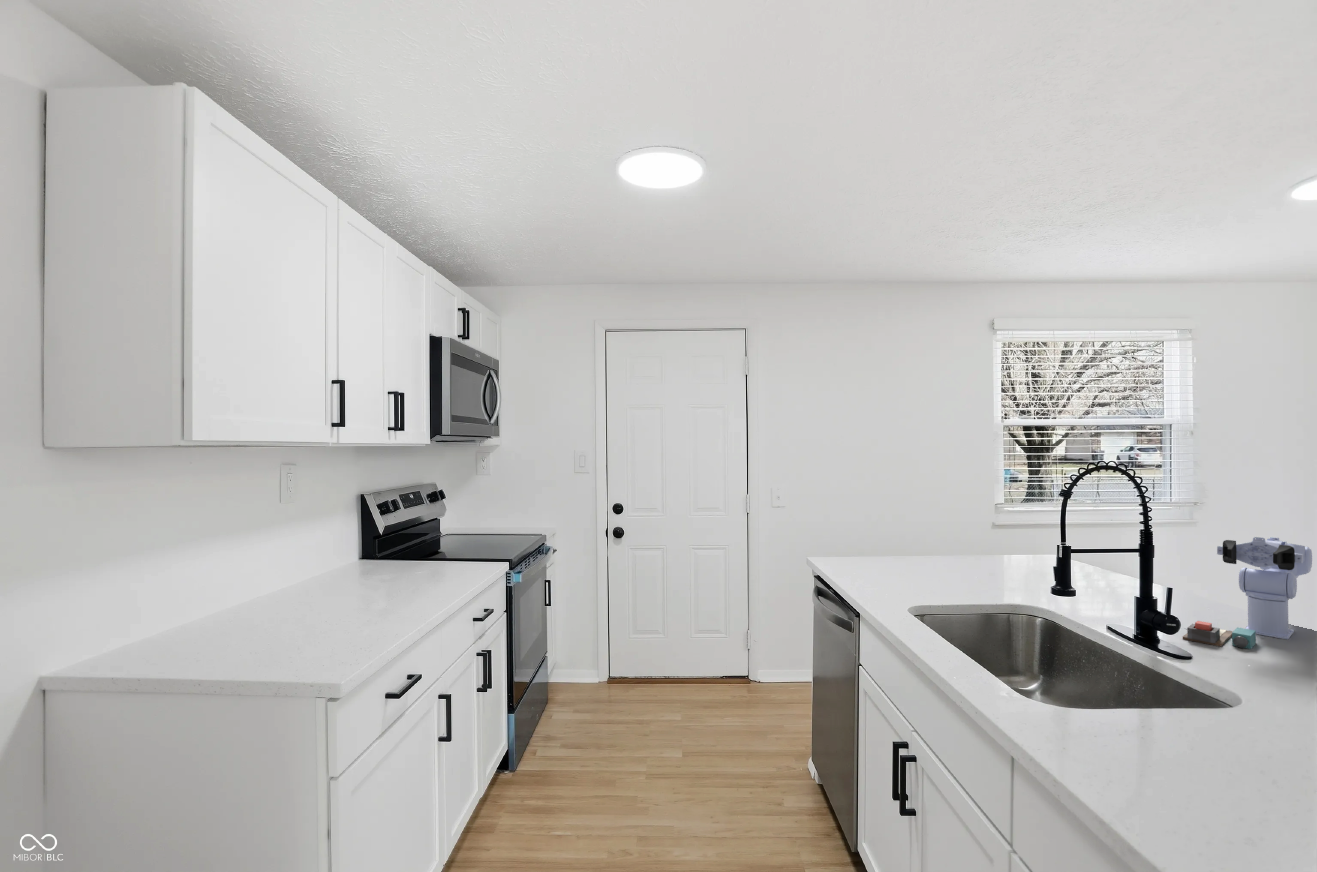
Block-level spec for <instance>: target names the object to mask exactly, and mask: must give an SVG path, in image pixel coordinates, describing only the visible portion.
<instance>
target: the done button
mask: <svg viewBox="0 0 1317 872" xmlns="http://www.w3.org/2000/svg"><path fill="white" fill-rule="evenodd" d="M1194 624H1195V628H1196V629H1202V630H1207V631H1212V627H1213V623H1212V622H1209V621H1200V620H1197V621H1195V622H1194Z"/></svg>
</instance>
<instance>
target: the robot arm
mask: <svg viewBox="0 0 1317 872" xmlns="http://www.w3.org/2000/svg"><path fill="white" fill-rule="evenodd" d="M1216 552H1217V553H1216V555H1219V556H1222V561H1223V562H1224V563H1225V564H1230V565H1231V564H1233V565H1237V561H1238V562H1239V561H1240V562H1242V563H1245V564H1247V565H1250V566H1252V567H1255V569H1254V568H1249V567H1245V566H1244V567H1243V566H1242V568H1240V570H1239V572H1238V573H1239V574H1238V586H1239V587H1238V588H1239V590H1240V591H1241V592H1242V593H1245V596H1246V597H1247V626H1246V627H1245V628H1244V629H1250V630H1256V635H1259V636H1265V637H1270V638H1277V639H1284V640H1289V639H1290V638H1291V637H1292V635H1293V634H1294V633H1295V630H1294V629H1290V628H1289V600H1293V599H1294V598H1296V596H1297V592H1298V591H1297V590H1298V582H1297V581H1298V578H1299V576H1303V575H1307V574H1309V573H1310V572H1311V571H1312V567H1313V552H1312V548H1310V547H1309V546H1305V545H1301V544H1295V543H1289V542H1287V541H1286V540H1285V541H1283V540H1281V539H1280V538H1279V537H1273V536H1272V537H1268V538H1267V539H1266V538H1264V537H1259V536H1258V537H1257V536H1254V537H1253V538H1252V540H1251V541H1248V542H1244V543H1237V540H1234V539H1233V540H1231V539H1225V540H1223V541H1222V545H1217V547H1216ZM1257 568H1260V569H1257Z"/></svg>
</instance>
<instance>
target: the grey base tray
mask: <svg viewBox="0 0 1317 872" xmlns="http://www.w3.org/2000/svg"><path fill="white" fill-rule="evenodd" d="M1186 630H1187V631H1186V633H1185V634H1184V635H1183V636H1182V640H1185V641H1191V642H1196V643H1201V644H1206V645H1212V646H1216V647H1223V645H1225V643H1227V642H1228V641H1229V640H1230V639H1232V632H1233V631H1234V630H1227V629H1222V628H1219V627H1214V626H1212V631H1207V630H1202V629H1196V628H1195V623H1191V624H1190V625H1189V626H1188V627H1187V629H1186Z"/></svg>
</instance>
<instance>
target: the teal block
mask: <svg viewBox="0 0 1317 872" xmlns="http://www.w3.org/2000/svg"><path fill="white" fill-rule="evenodd" d="M1232 631H1233V632H1232V637H1231V645H1232V646H1234V647H1237V648H1239V649H1240V648H1241V649H1249V650H1251V649H1253V647H1254V646H1255V645H1256V644H1257V637H1256V636H1257V634H1256V630H1250V629H1245V628H1244V627H1239V626H1237V627H1236V628H1235V629H1234V630H1232Z"/></svg>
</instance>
